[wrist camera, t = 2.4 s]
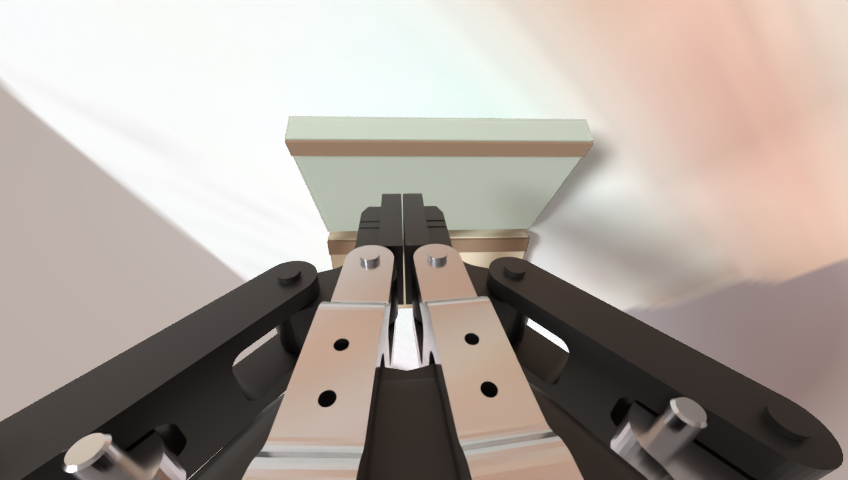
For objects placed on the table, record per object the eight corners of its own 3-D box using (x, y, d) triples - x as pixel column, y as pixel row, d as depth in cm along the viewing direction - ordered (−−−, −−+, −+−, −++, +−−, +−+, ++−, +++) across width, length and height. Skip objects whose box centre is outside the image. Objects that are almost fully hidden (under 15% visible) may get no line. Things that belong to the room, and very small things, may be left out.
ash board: (522, 226, 27) (529, 238, 26) (506, 294, 31) (512, 307, 30) (331, 228, 26) (327, 241, 25) (342, 298, 30) (339, 312, 29)
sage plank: (586, 119, 17) (594, 142, 17) (525, 212, 26) (529, 230, 25) (289, 116, 16) (284, 140, 16) (329, 214, 25) (327, 233, 24)
